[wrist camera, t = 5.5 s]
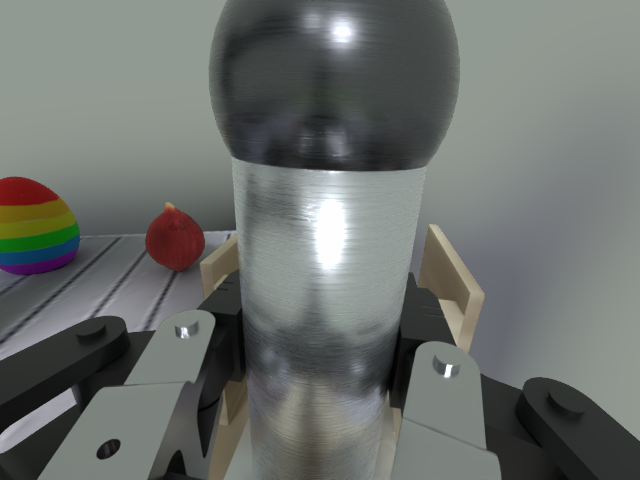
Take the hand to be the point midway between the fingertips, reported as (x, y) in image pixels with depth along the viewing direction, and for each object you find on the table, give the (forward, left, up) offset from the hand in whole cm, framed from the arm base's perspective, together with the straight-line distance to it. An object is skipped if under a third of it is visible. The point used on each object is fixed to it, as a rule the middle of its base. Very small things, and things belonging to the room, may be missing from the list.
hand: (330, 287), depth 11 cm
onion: (-19, +18, -11) cm, 29 cm away
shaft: (0, +2, -8) cm, 8 cm away
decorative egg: (-35, +16, -11) cm, 40 cm away
